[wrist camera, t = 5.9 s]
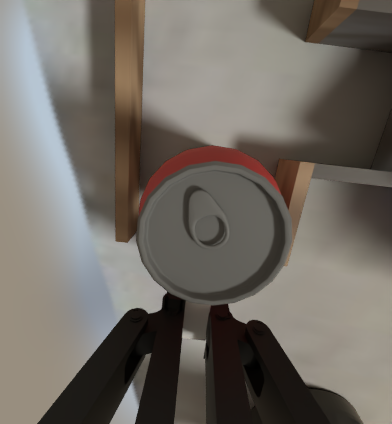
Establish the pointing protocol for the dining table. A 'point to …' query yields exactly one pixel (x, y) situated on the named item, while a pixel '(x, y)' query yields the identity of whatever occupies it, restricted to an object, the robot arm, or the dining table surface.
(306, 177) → the channel
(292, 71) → the dining table surface
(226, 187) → the beer can
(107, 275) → the dining table surface
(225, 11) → the dining table surface
